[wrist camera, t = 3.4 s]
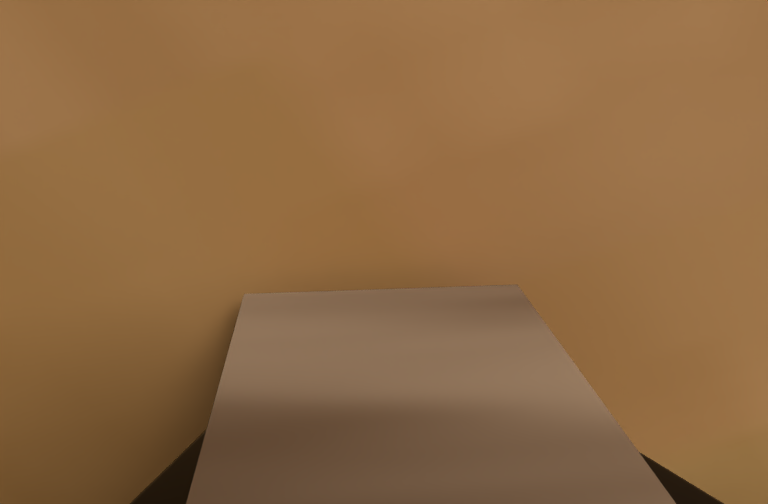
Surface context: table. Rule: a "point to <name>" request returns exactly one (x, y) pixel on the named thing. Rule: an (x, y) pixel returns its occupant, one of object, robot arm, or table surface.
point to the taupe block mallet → (410, 406)
